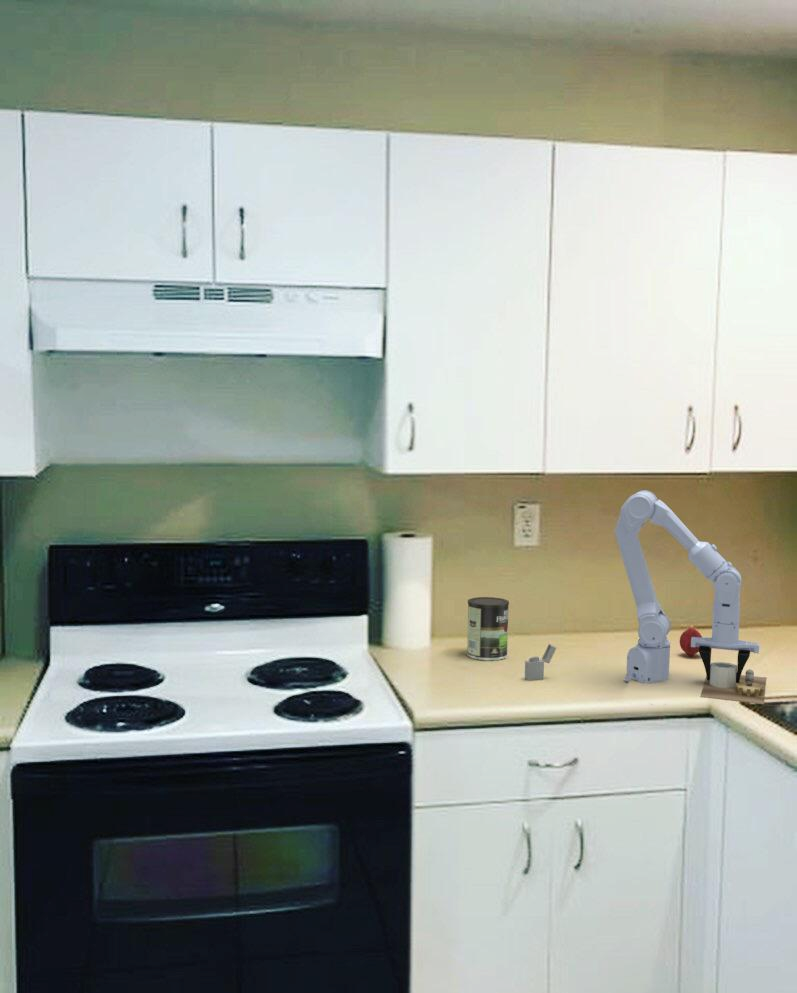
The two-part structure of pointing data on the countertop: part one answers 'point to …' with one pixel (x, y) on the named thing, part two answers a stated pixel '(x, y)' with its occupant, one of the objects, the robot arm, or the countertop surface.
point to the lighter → (538, 665)
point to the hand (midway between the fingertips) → (723, 681)
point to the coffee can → (487, 628)
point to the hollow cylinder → (723, 674)
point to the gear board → (739, 690)
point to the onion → (689, 641)
